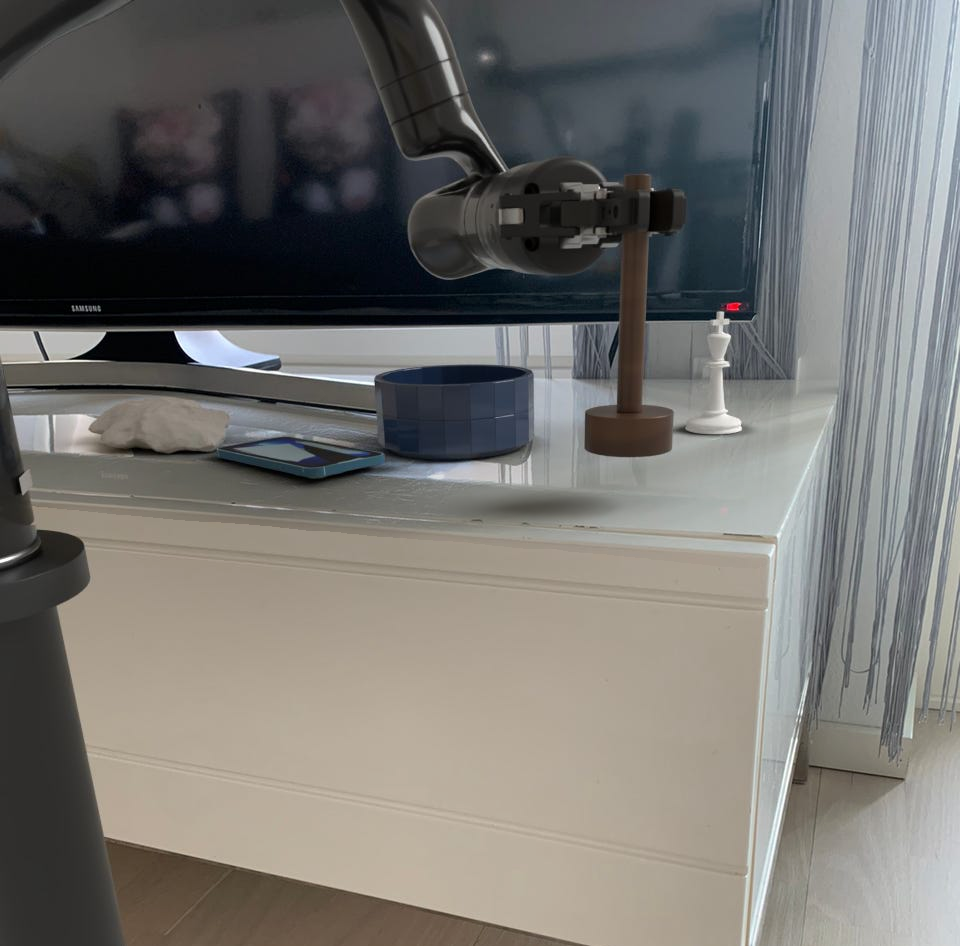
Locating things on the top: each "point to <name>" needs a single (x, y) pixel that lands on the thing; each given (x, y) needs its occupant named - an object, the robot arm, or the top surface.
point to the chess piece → (715, 388)
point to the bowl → (455, 410)
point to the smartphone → (301, 456)
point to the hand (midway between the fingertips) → (661, 210)
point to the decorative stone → (162, 425)
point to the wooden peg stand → (631, 363)
